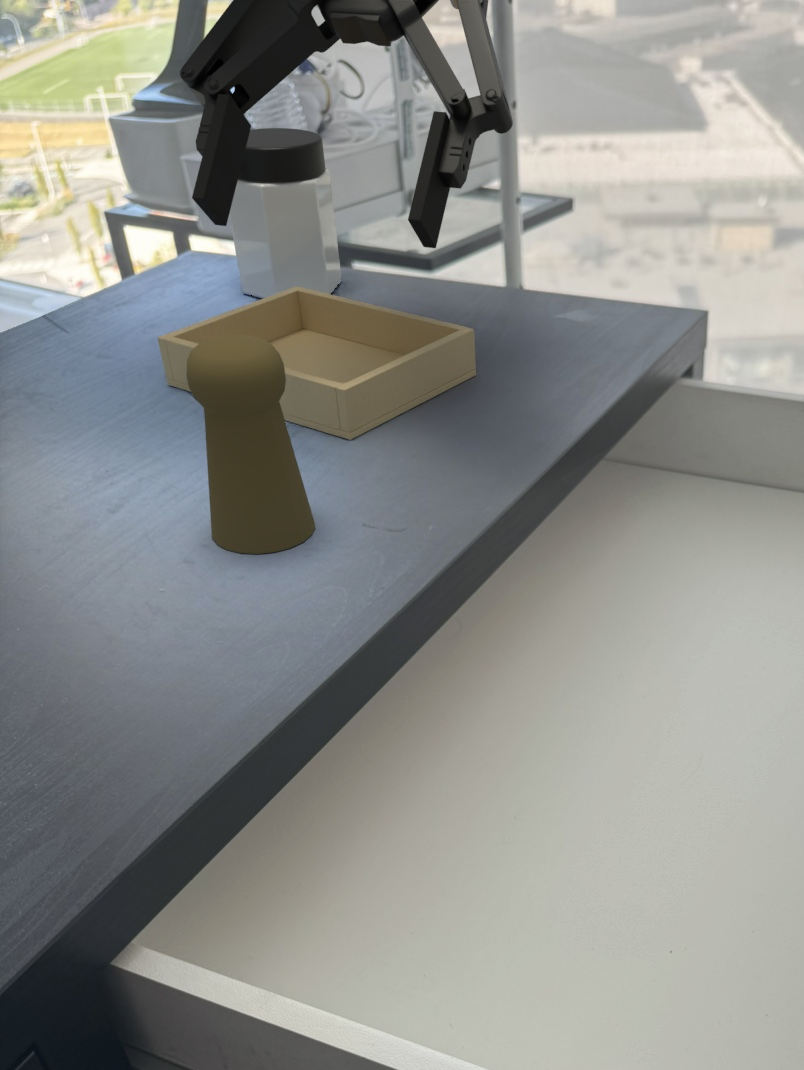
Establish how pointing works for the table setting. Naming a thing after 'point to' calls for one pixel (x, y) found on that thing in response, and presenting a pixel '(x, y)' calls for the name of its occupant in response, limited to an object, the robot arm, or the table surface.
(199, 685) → the table surface
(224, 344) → the cork
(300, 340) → the tray
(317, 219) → the jar
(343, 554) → the table surface
